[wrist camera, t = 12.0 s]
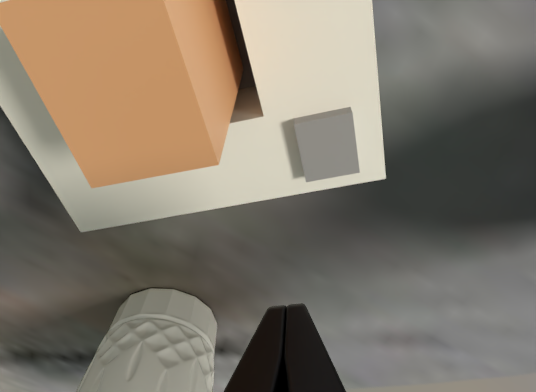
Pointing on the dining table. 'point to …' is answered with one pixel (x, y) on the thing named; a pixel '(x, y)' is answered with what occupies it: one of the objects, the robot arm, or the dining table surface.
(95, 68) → the plug
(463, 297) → the dining table surface
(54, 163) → the socket plate
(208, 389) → the white cup
